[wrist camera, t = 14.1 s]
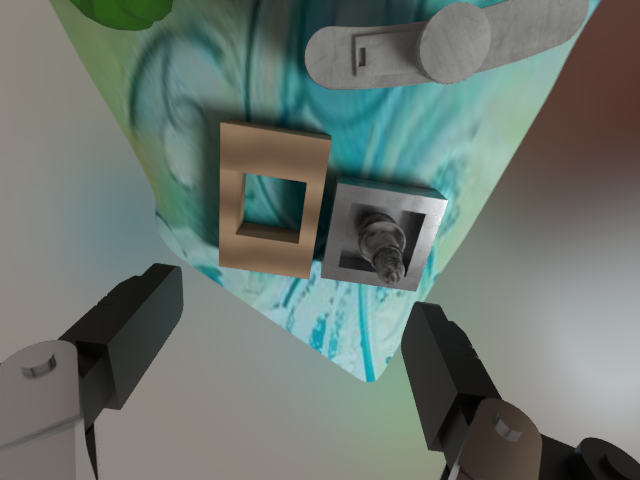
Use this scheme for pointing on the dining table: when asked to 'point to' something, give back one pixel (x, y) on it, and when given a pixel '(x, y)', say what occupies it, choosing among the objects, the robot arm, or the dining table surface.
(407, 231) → the seat block
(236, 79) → the dining table surface
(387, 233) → the chess piece
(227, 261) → the wooden rectangular frame
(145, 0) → the bell pepper
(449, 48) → the hip flask
